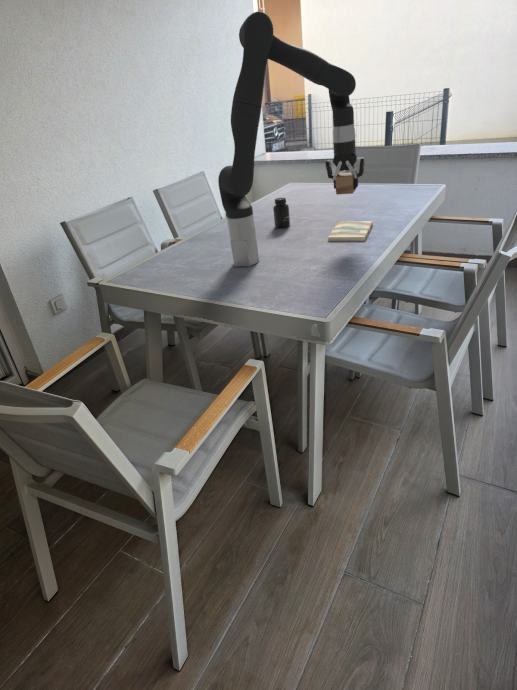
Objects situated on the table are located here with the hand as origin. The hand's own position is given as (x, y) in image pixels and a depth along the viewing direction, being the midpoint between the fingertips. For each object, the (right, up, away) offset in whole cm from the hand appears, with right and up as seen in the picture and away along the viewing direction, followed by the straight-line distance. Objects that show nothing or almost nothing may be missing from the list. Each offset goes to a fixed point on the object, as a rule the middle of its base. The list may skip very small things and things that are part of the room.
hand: (346, 189), depth 161 cm
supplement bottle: (-21, -5, +34) cm, 41 cm away
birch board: (+5, -12, +15) cm, 20 cm away
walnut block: (0, -1, 0) cm, 1 cm away
